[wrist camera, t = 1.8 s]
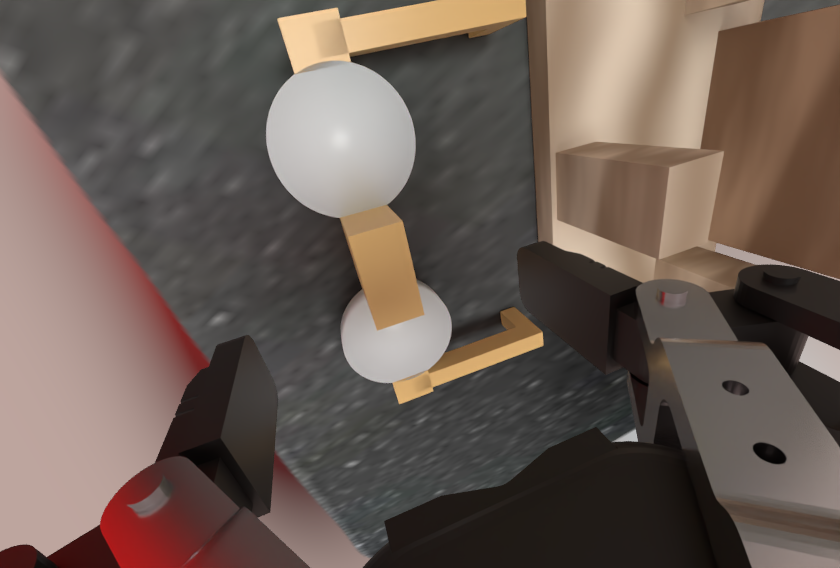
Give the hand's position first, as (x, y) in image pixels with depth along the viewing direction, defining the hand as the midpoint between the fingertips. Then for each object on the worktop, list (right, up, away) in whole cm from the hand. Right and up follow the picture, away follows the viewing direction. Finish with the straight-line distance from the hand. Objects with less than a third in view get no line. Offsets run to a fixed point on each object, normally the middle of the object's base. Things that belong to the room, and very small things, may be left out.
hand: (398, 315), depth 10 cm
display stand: (+13, +8, +11) cm, 19 cm away
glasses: (0, +4, +9) cm, 10 cm away
